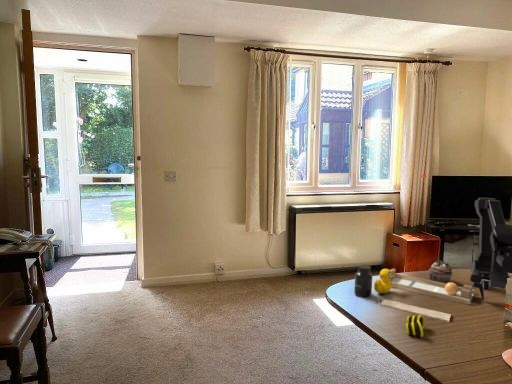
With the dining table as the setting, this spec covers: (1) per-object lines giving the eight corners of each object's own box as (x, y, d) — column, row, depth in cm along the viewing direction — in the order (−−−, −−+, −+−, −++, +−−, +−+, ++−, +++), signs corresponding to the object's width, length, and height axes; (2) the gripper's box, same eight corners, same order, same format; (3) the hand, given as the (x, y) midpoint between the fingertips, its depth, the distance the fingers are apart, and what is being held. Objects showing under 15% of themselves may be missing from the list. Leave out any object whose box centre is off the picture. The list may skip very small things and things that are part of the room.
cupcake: (452, 280, 168) (453, 259, 167) (450, 287, 160) (452, 265, 159) (429, 276, 173) (430, 256, 172) (426, 282, 165) (428, 261, 164)
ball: (445, 291, 155) (446, 279, 154) (458, 293, 152) (459, 282, 151) (443, 294, 151) (444, 283, 150) (456, 297, 148) (457, 285, 147)
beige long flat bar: (380, 307, 141) (381, 302, 140) (385, 300, 146) (386, 296, 146) (449, 323, 127) (449, 319, 127) (451, 316, 133) (451, 311, 133)
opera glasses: (409, 326, 126) (407, 312, 126) (425, 326, 123) (423, 312, 123) (406, 338, 117) (404, 323, 117) (424, 339, 115) (421, 324, 115)
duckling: (386, 287, 159) (387, 265, 158) (397, 291, 155) (398, 268, 153) (370, 293, 152) (371, 270, 151) (381, 297, 148) (382, 273, 147)
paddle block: (463, 293, 152) (464, 284, 152) (471, 295, 150) (472, 286, 150) (460, 299, 146) (461, 290, 145) (468, 301, 144) (469, 292, 143)
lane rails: (392, 276, 173) (392, 268, 172) (473, 294, 152) (474, 285, 152) (382, 285, 162) (382, 276, 161) (469, 305, 141) (470, 295, 141)
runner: (395, 278, 171) (395, 277, 171) (473, 295, 152) (473, 294, 152) (386, 285, 161) (387, 284, 161) (469, 304, 142) (469, 303, 142)
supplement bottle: (353, 296, 149) (354, 268, 147) (355, 290, 155) (356, 263, 154) (370, 299, 146) (372, 270, 145) (372, 293, 153) (373, 265, 151)
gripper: (469, 264, 139) (466, 303, 141) (530, 274, 128) (526, 316, 130) (473, 257, 148) (470, 294, 150) (530, 266, 137) (526, 306, 139)
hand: (497, 302), depth 142 cm, fingers open, 9 cm apart
